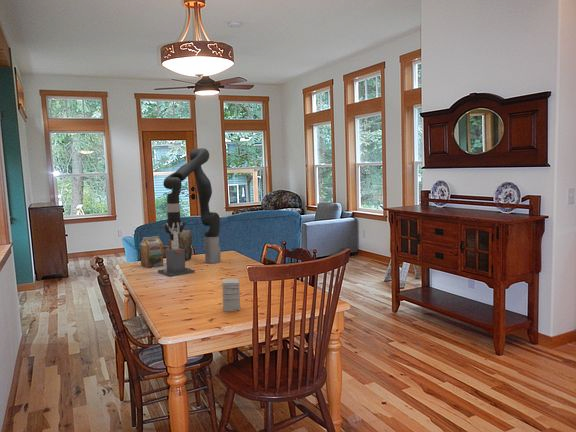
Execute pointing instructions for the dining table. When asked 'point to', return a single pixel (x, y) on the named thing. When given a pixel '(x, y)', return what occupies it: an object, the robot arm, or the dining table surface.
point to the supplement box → (231, 295)
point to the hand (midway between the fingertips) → (174, 239)
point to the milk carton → (151, 252)
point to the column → (175, 241)
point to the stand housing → (175, 263)
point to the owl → (186, 243)
